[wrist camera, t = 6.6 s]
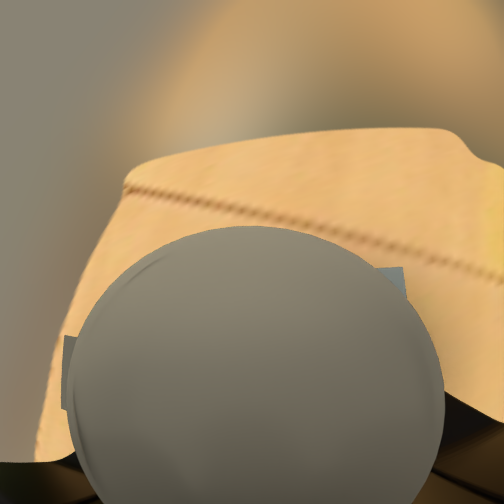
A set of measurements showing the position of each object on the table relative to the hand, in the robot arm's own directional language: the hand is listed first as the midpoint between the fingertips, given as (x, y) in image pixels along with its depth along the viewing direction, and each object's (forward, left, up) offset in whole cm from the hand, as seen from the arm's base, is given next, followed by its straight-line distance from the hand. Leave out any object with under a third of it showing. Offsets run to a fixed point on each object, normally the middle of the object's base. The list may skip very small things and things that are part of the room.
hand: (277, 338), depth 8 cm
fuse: (-1, 0, -7) cm, 7 cm away
